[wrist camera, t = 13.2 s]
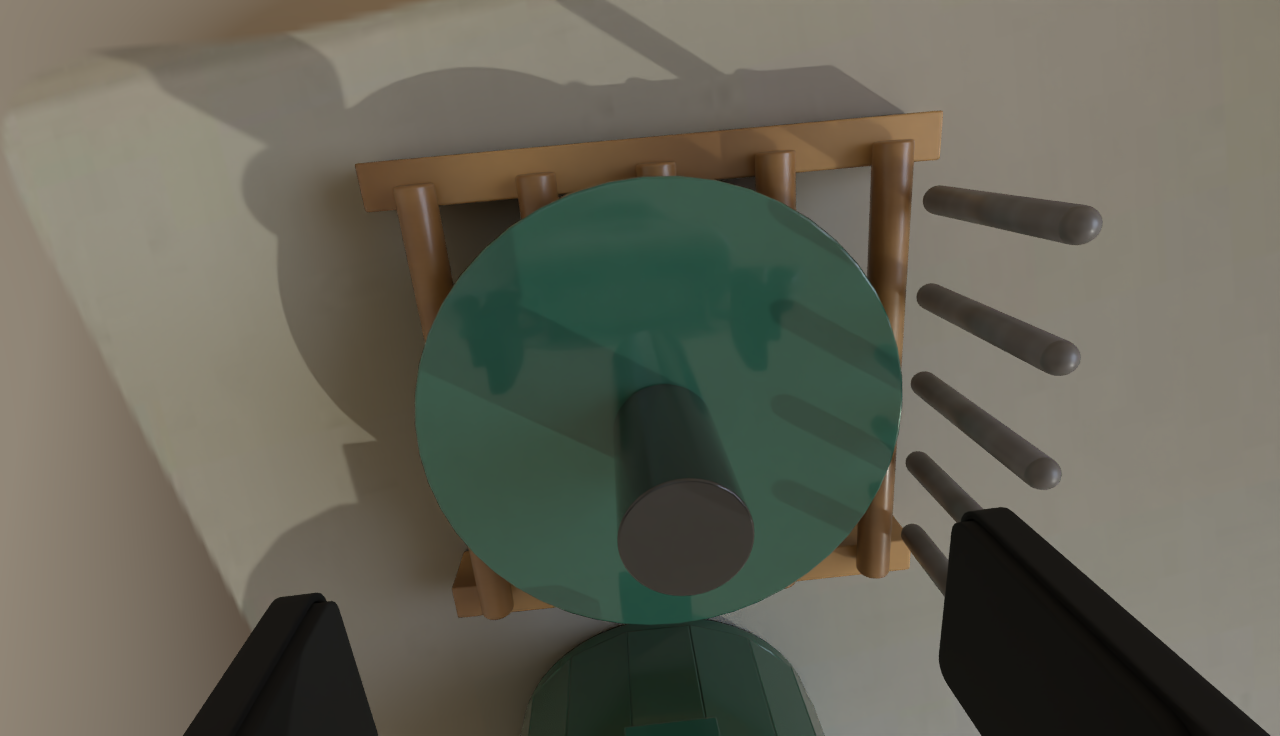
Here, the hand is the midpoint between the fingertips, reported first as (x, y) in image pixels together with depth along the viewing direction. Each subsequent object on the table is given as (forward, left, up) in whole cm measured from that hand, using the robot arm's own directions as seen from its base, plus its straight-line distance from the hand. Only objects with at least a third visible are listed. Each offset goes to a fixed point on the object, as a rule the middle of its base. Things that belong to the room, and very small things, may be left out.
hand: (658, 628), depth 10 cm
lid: (+1, 0, -8) cm, 8 cm away
